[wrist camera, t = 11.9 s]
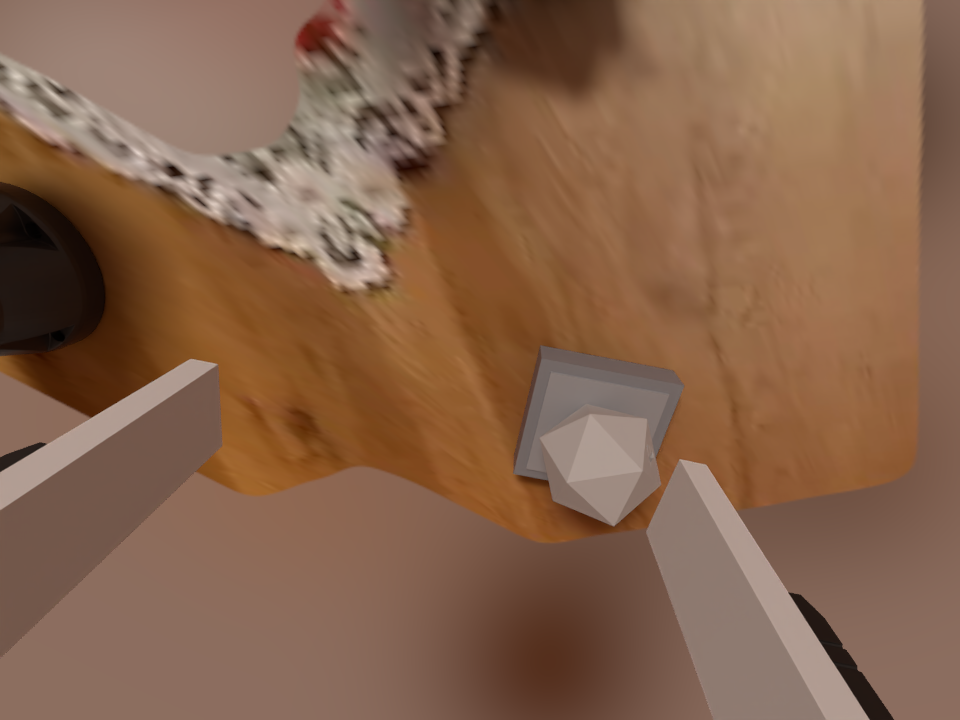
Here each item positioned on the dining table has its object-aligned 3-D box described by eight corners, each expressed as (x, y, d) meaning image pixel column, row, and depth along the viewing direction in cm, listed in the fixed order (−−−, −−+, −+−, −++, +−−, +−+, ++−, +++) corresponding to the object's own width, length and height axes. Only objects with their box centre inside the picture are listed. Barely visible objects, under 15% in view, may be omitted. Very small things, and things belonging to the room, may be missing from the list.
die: (615, 484, 42) (702, 510, 33) (532, 515, 39) (603, 553, 29) (596, 395, 42) (678, 396, 33) (511, 418, 39) (575, 427, 29)
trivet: (513, 455, 45) (513, 475, 42) (540, 345, 40) (541, 359, 37) (632, 477, 45) (640, 500, 42) (673, 370, 40) (685, 386, 37)
